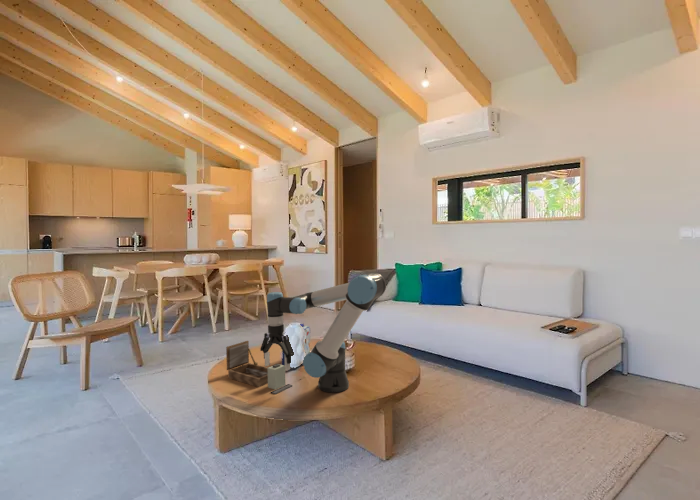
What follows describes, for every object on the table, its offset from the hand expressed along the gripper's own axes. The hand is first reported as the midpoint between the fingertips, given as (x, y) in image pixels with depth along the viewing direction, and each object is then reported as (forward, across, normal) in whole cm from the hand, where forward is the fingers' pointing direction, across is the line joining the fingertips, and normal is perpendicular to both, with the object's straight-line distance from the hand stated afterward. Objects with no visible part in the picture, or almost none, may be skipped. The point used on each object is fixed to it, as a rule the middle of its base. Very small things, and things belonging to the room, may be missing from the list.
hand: (277, 367), depth 202 cm
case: (+10, +18, -1) cm, 20 cm away
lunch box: (+10, +17, -33) cm, 38 cm away
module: (+10, +1, 0) cm, 10 cm away
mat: (+10, +1, 0) cm, 10 cm away
